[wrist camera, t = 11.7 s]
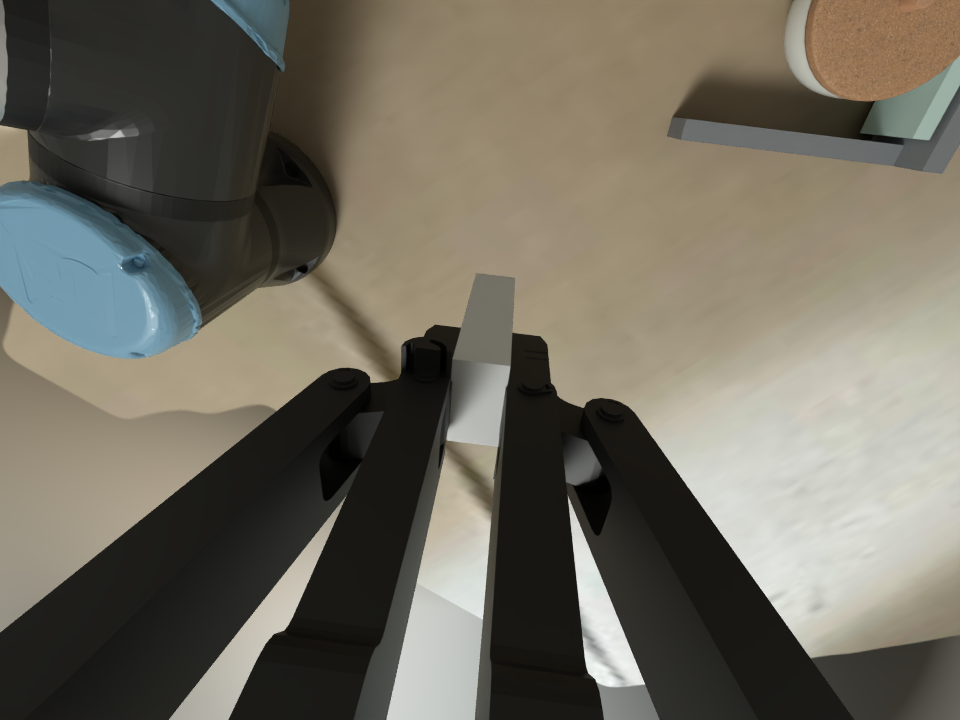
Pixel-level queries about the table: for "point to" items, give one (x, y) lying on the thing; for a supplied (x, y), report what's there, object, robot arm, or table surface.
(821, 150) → the grey fixture frame
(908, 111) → the pusher
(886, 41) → the lidded jar
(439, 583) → the table surface
